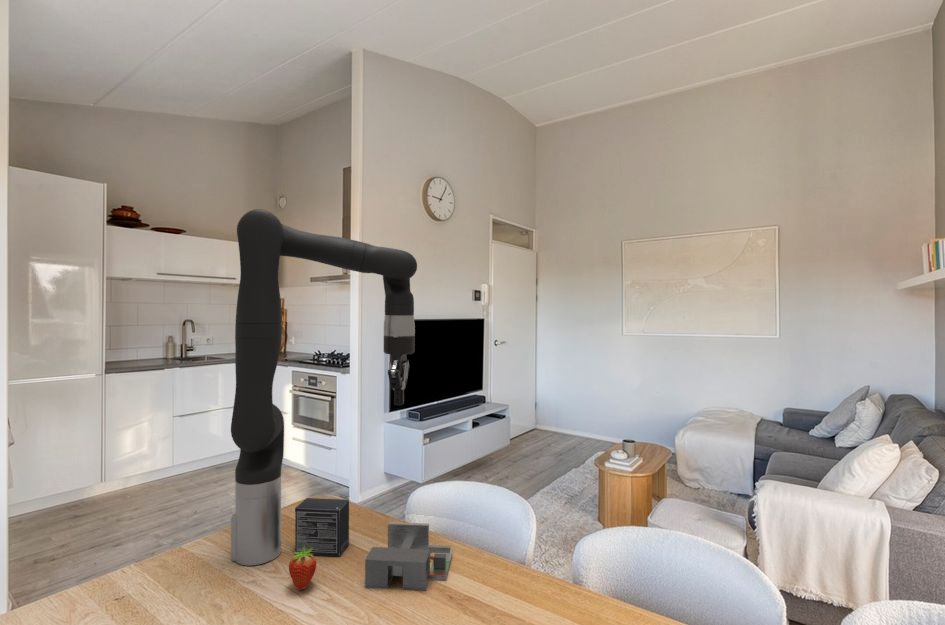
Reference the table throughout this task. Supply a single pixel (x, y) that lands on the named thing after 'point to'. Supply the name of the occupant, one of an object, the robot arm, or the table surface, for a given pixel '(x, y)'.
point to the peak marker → (439, 561)
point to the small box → (322, 526)
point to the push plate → (411, 540)
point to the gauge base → (412, 563)
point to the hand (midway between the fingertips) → (398, 404)
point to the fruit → (302, 568)
